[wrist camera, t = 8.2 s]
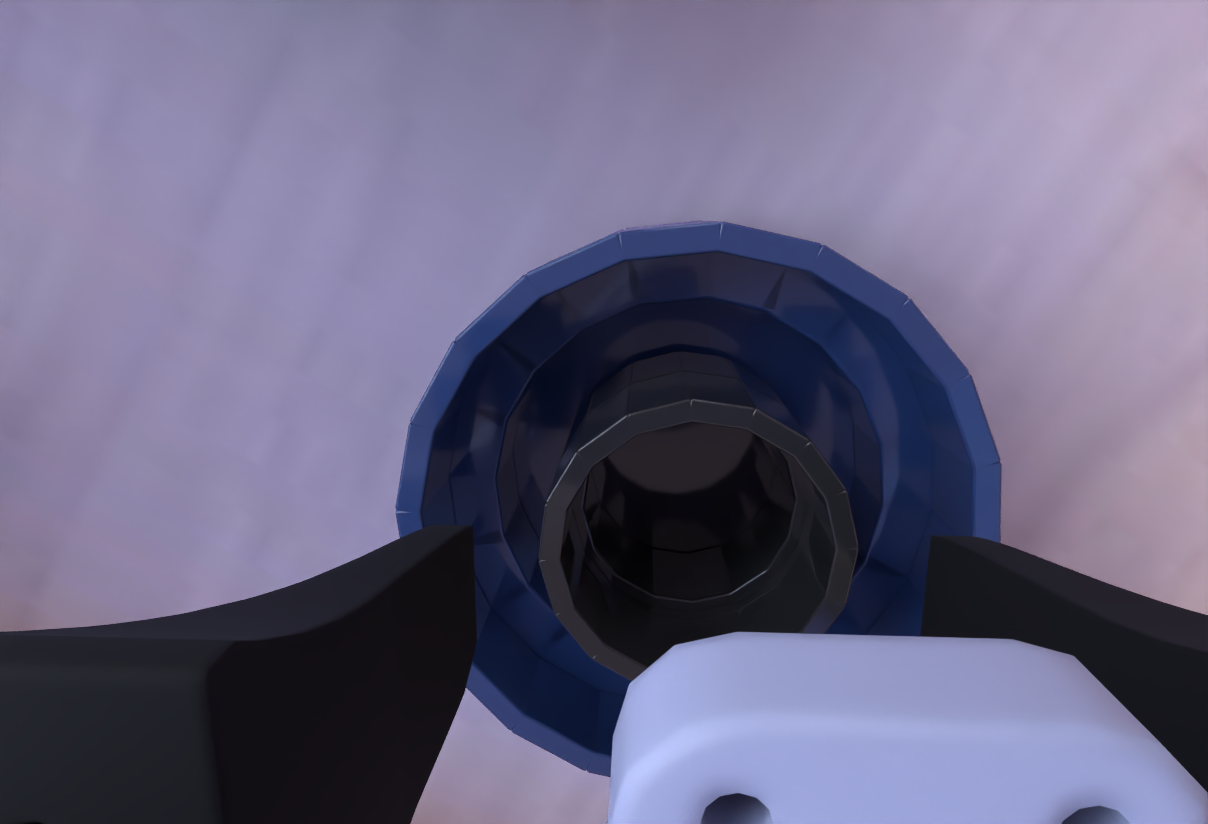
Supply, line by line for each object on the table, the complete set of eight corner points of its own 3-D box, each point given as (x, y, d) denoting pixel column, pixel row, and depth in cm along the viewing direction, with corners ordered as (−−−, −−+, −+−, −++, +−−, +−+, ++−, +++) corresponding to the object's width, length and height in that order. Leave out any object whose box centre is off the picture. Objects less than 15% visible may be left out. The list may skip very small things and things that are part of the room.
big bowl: (749, 726, 21) (781, 877, 16) (383, 524, 20) (301, 621, 15) (1006, 377, 19) (1132, 433, 14) (599, 129, 18) (583, 97, 13)
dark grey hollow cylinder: (717, 604, 20) (744, 744, 15) (528, 497, 19) (485, 601, 14) (842, 423, 19) (920, 504, 13) (642, 305, 18) (641, 340, 13)
